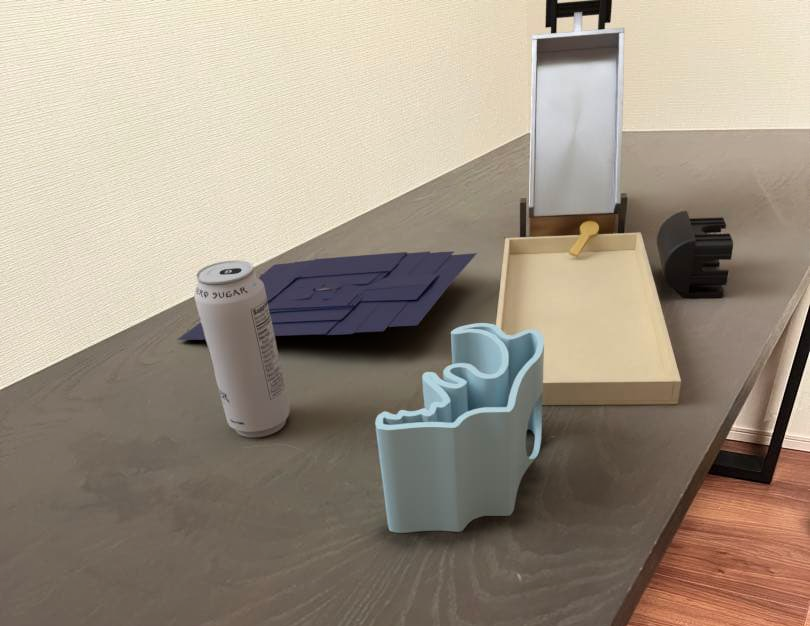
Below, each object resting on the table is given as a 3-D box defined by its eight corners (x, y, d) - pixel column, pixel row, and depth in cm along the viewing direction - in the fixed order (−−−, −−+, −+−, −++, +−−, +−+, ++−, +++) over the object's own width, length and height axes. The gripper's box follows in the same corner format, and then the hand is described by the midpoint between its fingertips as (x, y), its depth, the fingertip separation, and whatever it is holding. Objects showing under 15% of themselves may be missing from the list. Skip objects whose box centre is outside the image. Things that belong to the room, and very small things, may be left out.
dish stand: (613, 200, 119) (617, 157, 115) (623, 244, 104) (627, 197, 100) (522, 204, 121) (523, 162, 117) (519, 248, 106) (519, 202, 103)
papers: (415, 358, 81) (408, 324, 79) (183, 362, 93) (172, 333, 91) (484, 269, 98) (480, 240, 96) (281, 283, 110) (273, 257, 108)
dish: (622, 11, 100) (625, -8, 97) (617, 214, 100) (620, 203, 97) (533, 18, 102) (533, 1, 99) (528, 218, 102) (528, 207, 99)
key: (584, 221, 102) (585, 218, 102) (601, 226, 101) (602, 224, 101) (564, 253, 101) (564, 250, 100) (581, 259, 100) (582, 256, 99)
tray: (639, 251, 102) (641, 232, 100) (677, 404, 72) (681, 381, 71) (505, 256, 105) (505, 237, 103) (489, 405, 75) (489, 383, 73)
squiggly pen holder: (507, 547, 59) (506, 441, 53) (382, 530, 62) (369, 428, 56) (548, 422, 72) (552, 326, 66) (444, 413, 75) (438, 320, 69)
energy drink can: (236, 410, 79) (198, 260, 69) (295, 406, 78) (265, 255, 69) (223, 442, 74) (181, 287, 64) (286, 438, 73) (253, 281, 64)
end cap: (653, 267, 97) (659, 210, 93) (713, 266, 96) (723, 208, 92) (659, 300, 90) (666, 240, 86) (724, 299, 89) (735, 238, 84)
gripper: (661, -166, 90) (644, 22, 101) (510, -149, 92) (510, 33, 104) (669, -169, 84) (649, 31, 96) (507, -151, 87) (507, 42, 98)
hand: (577, 30), depth 100 cm, fingers closed on dish, 5 cm apart
